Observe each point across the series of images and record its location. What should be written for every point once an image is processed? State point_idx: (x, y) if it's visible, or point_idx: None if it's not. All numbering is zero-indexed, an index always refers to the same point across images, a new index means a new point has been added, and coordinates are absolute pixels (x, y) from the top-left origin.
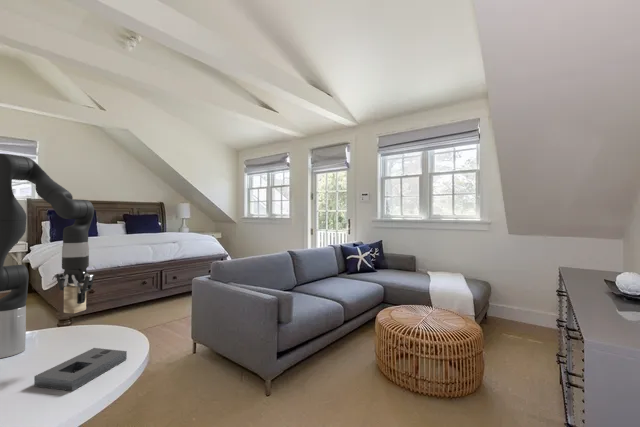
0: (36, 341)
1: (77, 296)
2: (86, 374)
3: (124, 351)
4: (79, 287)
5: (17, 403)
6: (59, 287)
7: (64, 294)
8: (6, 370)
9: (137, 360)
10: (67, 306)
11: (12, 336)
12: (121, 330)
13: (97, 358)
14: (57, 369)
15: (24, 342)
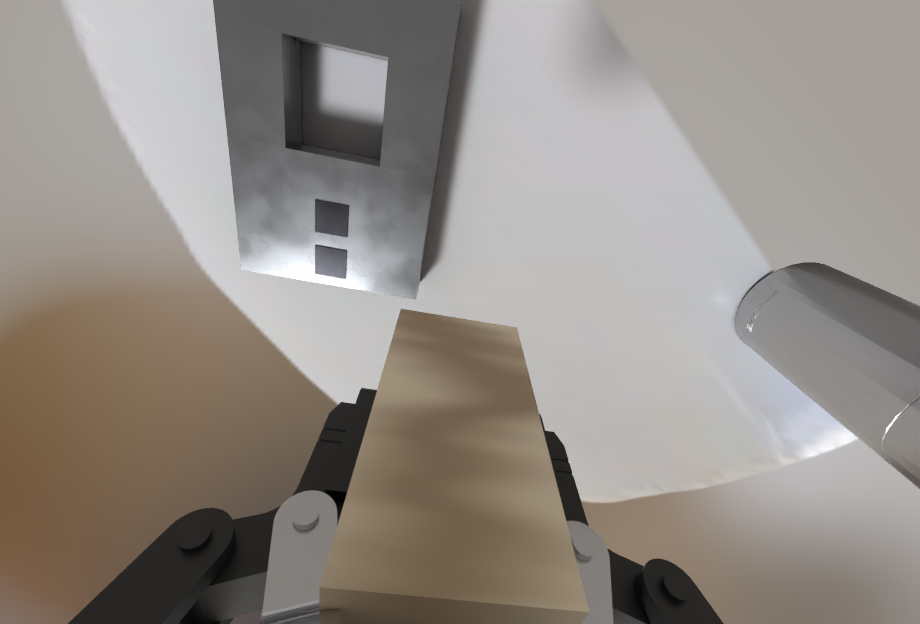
0: (735, 393)
1: None
2: (220, 33)
3: (247, 266)
4: (265, 603)
5: None
6: (712, 618)
7: (544, 474)
8: (697, 163)
9: (212, 251)
10: (478, 356)
11: (823, 325)
12: None
13: (308, 197)
14: (403, 76)
15: (757, 343)
